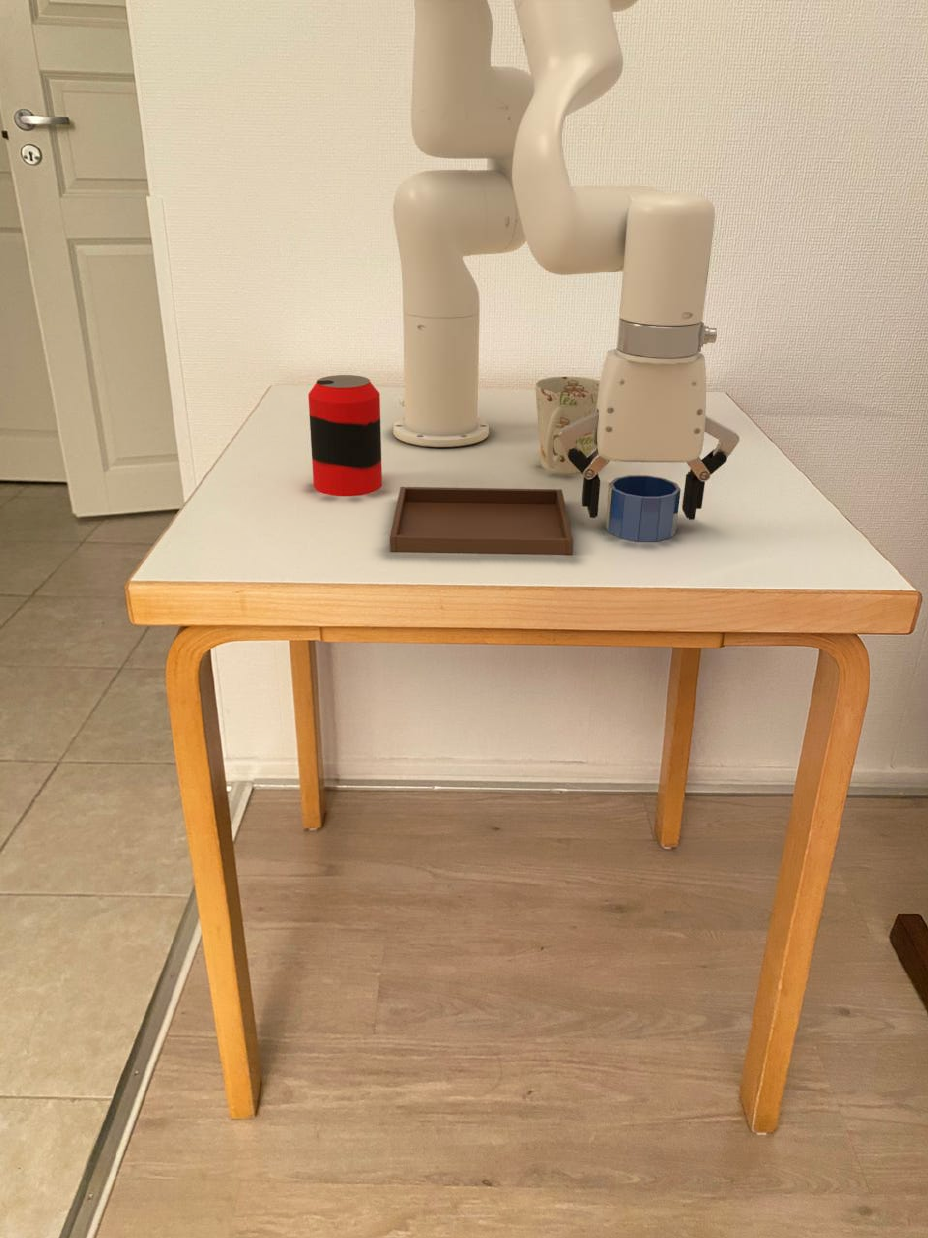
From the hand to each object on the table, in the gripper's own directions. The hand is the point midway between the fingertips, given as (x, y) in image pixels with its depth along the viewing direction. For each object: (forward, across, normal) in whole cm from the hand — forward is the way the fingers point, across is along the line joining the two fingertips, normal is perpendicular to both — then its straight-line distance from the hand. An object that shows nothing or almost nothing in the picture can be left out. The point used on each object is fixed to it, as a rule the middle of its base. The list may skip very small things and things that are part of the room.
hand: (640, 514), depth 98 cm
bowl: (+2, 0, 0) cm, 2 cm away
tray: (+2, +16, 0) cm, 16 cm away
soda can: (+2, +31, -12) cm, 33 cm away
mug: (+2, +6, -18) cm, 19 cm away
